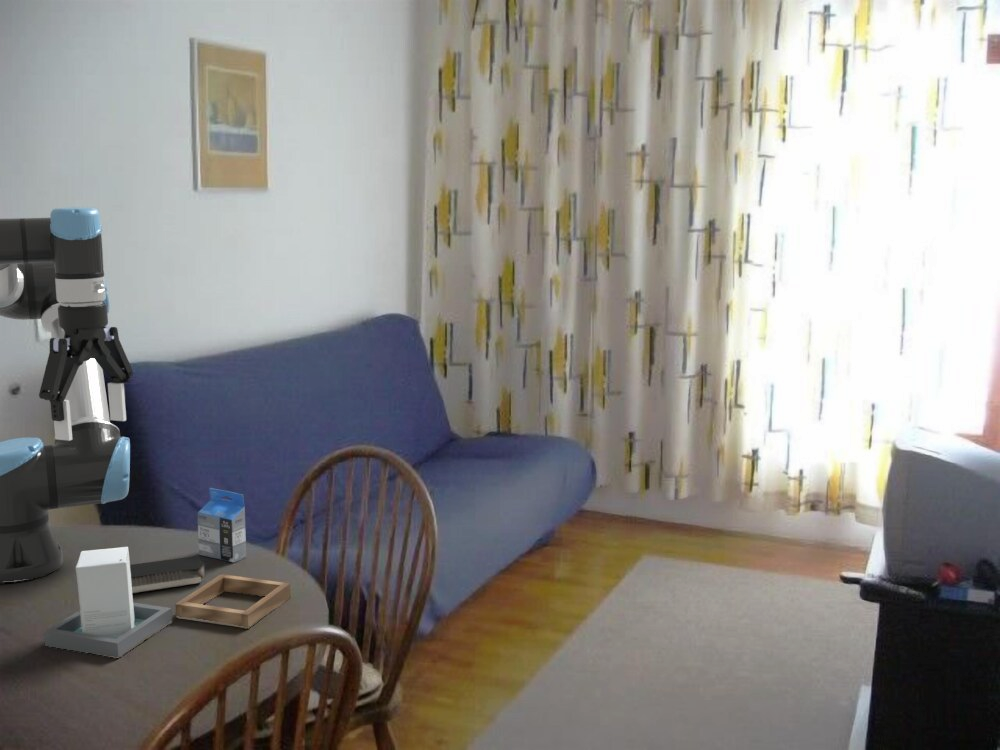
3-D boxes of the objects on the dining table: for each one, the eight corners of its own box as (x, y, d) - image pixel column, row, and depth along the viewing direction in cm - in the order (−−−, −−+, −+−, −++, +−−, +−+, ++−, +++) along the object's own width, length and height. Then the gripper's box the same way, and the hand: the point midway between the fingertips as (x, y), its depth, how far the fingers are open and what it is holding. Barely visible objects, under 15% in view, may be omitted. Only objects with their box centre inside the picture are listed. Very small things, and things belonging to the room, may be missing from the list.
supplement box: (135, 620, 173) (130, 545, 171) (132, 639, 166) (126, 562, 164) (86, 625, 171) (80, 549, 169) (81, 645, 164) (75, 566, 162)
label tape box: (197, 555, 202) (194, 492, 200) (213, 548, 206) (209, 486, 204) (233, 563, 198) (229, 499, 196) (248, 556, 202) (245, 493, 199)
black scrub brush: (108, 601, 182) (107, 581, 181) (105, 583, 190) (104, 564, 189) (207, 587, 188) (206, 567, 188) (200, 570, 196) (199, 551, 195)
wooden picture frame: (176, 618, 175) (175, 603, 174) (222, 587, 187) (221, 574, 187) (248, 629, 171) (247, 614, 170) (290, 597, 183) (290, 583, 182)
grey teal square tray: (45, 646, 165) (43, 631, 164) (102, 612, 177) (101, 597, 177) (118, 658, 161) (117, 643, 160) (172, 622, 173) (171, 608, 173)
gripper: (46, 314, 163) (58, 450, 167) (148, 294, 186) (156, 414, 190) (6, 312, 165) (19, 446, 170) (112, 293, 188) (121, 411, 193)
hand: (92, 429), depth 180 cm, fingers open, 13 cm apart
